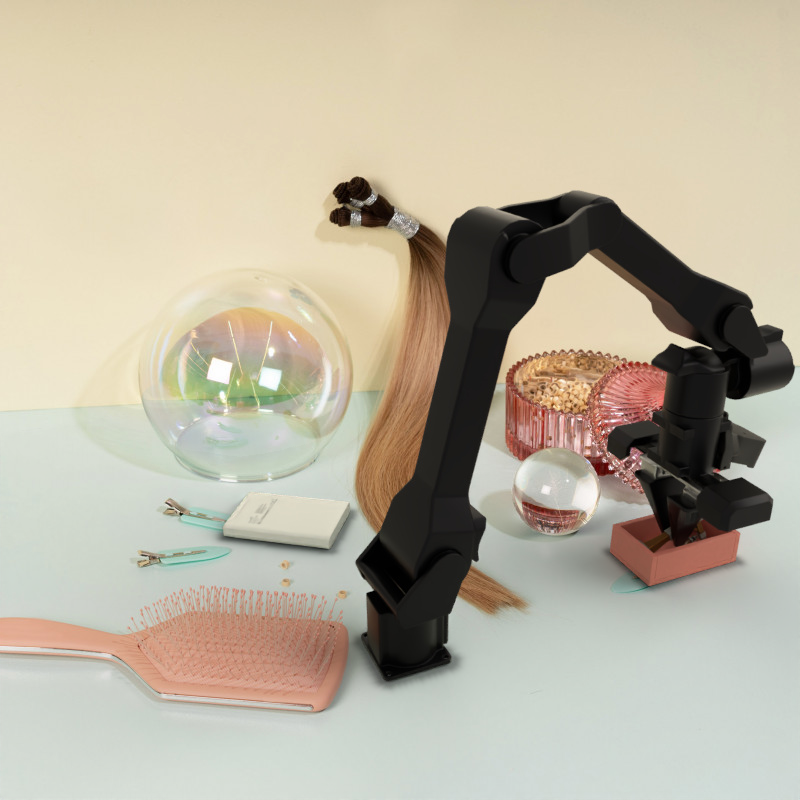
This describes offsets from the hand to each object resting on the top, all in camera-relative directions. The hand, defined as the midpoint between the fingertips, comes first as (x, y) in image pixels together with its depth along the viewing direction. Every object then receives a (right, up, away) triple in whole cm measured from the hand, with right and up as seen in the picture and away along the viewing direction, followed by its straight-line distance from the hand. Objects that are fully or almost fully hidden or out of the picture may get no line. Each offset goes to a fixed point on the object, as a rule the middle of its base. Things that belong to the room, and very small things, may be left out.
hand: (673, 541), depth 89 cm
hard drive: (-42, +1, +7) cm, 42 cm away
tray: (0, -2, +1) cm, 2 cm away
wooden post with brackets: (0, -1, +1) cm, 1 cm away
